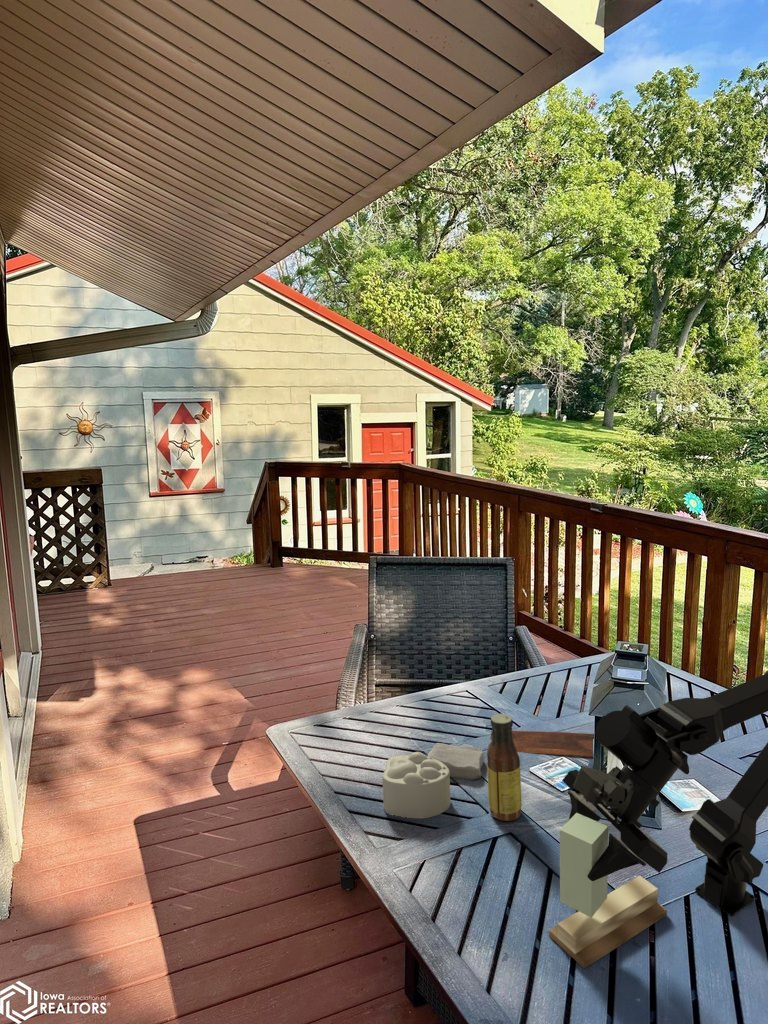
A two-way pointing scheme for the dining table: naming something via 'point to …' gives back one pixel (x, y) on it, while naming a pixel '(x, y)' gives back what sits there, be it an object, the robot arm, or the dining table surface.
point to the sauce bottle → (503, 771)
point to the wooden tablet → (554, 743)
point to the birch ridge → (610, 922)
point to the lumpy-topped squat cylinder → (416, 786)
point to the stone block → (459, 760)
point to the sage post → (582, 864)
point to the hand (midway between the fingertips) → (575, 862)
